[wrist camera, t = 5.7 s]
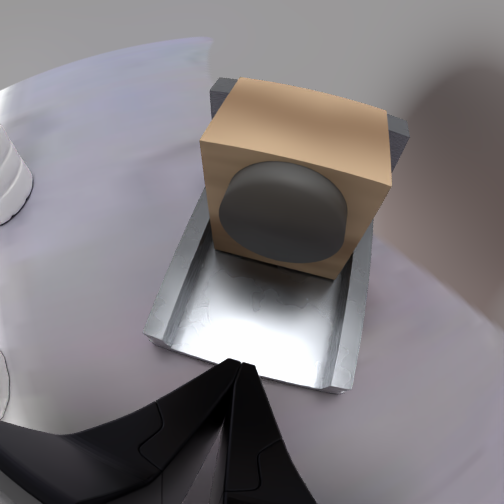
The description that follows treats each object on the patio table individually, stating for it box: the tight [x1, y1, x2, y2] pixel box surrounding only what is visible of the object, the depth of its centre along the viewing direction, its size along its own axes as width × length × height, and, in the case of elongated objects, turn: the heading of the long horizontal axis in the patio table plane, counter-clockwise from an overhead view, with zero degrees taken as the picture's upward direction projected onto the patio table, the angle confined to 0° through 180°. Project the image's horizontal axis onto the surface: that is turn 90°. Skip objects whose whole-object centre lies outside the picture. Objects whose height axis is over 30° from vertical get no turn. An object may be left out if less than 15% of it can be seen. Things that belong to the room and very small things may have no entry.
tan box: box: [200, 77, 392, 280], centre depth 15 cm, size 6×7×8 cm
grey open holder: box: [143, 78, 410, 394], centre depth 15 cm, size 13×10×8 cm
